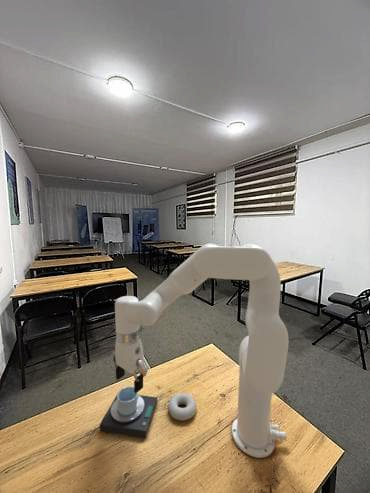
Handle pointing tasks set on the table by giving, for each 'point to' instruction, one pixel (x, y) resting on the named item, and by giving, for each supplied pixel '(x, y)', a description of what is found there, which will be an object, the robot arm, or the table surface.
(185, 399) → the donut
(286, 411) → the table surface
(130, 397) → the light blue cup
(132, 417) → the scale pan
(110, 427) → the scale
